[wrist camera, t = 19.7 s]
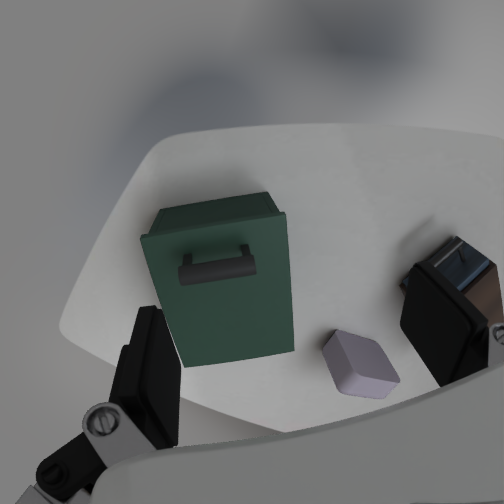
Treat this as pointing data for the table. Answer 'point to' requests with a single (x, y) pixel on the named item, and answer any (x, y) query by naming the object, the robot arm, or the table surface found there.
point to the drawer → (458, 263)
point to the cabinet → (484, 294)
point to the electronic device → (359, 366)
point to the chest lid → (224, 288)
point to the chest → (214, 211)
